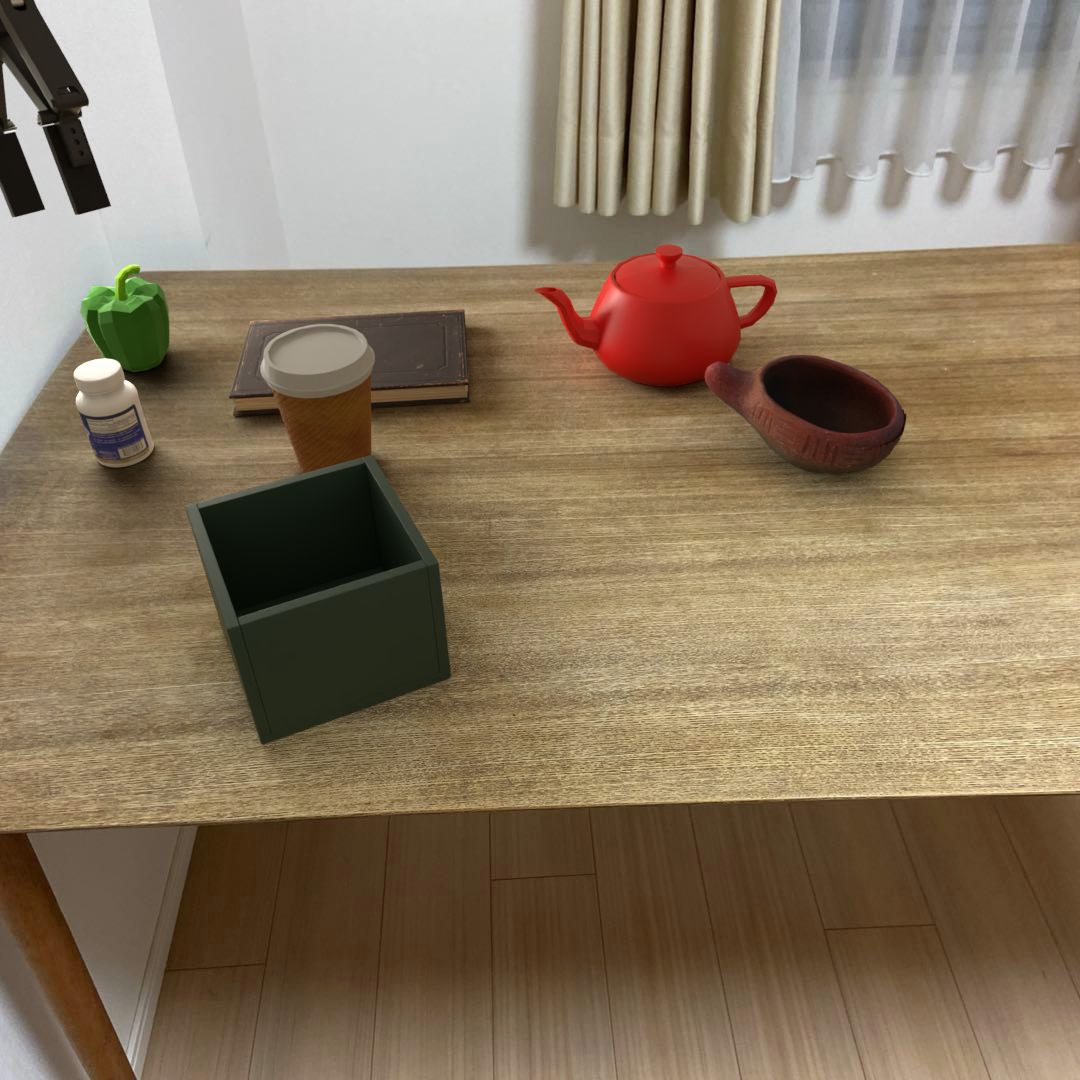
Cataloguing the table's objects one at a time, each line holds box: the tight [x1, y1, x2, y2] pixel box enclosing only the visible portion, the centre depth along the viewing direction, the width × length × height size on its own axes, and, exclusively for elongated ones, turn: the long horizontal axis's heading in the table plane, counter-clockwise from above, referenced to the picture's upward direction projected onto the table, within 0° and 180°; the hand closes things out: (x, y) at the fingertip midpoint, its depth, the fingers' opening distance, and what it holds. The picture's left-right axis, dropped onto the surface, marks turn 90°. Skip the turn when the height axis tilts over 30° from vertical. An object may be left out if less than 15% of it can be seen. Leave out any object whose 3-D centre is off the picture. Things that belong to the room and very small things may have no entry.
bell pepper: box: [79, 264, 170, 373], centre depth 105 cm, size 8×8×10 cm
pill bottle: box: [73, 358, 155, 468], centre depth 92 cm, size 5×5×9 cm
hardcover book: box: [228, 308, 471, 417], centre depth 105 cm, size 16×23×2 cm
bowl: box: [704, 354, 907, 476], centre depth 89 cm, size 16×13×8 cm
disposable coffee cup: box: [261, 324, 375, 474], centre depth 89 cm, size 10×10×12 cm
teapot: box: [533, 243, 778, 387], centre depth 102 cm, size 25×16×12 cm, turn 101°
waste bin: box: [184, 454, 452, 745], centre depth 71 cm, size 14×14×11 cm
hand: (59, 212), depth 85 cm, fingers open, 13 cm apart
